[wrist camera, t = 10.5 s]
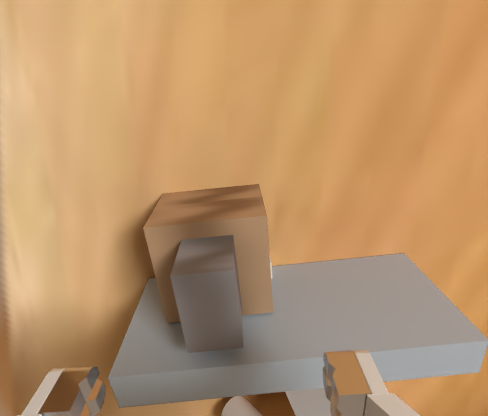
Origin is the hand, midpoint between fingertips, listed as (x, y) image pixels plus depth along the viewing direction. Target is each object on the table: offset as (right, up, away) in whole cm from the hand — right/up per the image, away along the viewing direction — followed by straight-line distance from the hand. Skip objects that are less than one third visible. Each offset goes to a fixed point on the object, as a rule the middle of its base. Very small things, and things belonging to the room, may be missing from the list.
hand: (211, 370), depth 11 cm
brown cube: (-1, +4, +13) cm, 13 cm away
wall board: (+4, 0, +15) cm, 15 cm away
